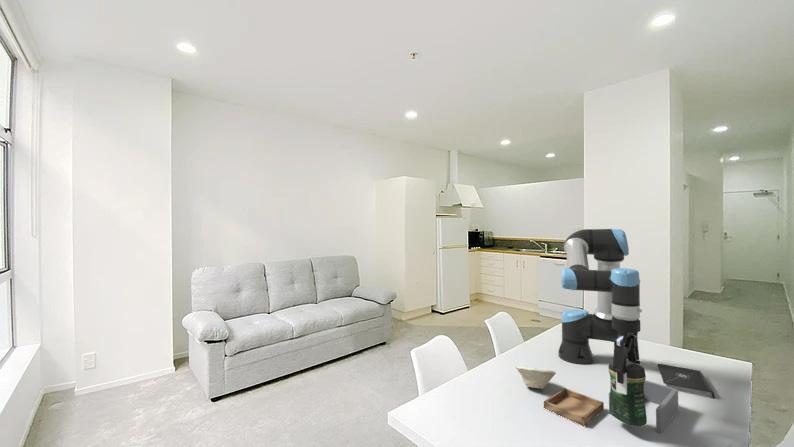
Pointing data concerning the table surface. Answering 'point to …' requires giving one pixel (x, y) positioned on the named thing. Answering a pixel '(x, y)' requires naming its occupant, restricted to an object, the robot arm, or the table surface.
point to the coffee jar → (629, 396)
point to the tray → (574, 406)
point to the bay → (661, 402)
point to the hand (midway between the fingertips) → (626, 387)
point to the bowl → (535, 376)
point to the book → (685, 380)
